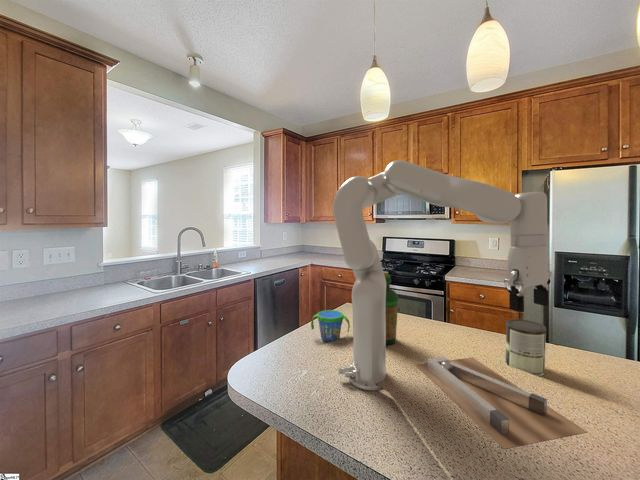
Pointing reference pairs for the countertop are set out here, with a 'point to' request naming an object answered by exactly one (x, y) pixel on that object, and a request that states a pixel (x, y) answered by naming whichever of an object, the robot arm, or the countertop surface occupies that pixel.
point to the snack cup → (330, 324)
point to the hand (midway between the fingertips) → (529, 307)
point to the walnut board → (508, 411)
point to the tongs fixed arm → (469, 396)
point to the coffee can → (526, 346)
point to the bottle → (390, 312)
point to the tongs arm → (498, 387)
